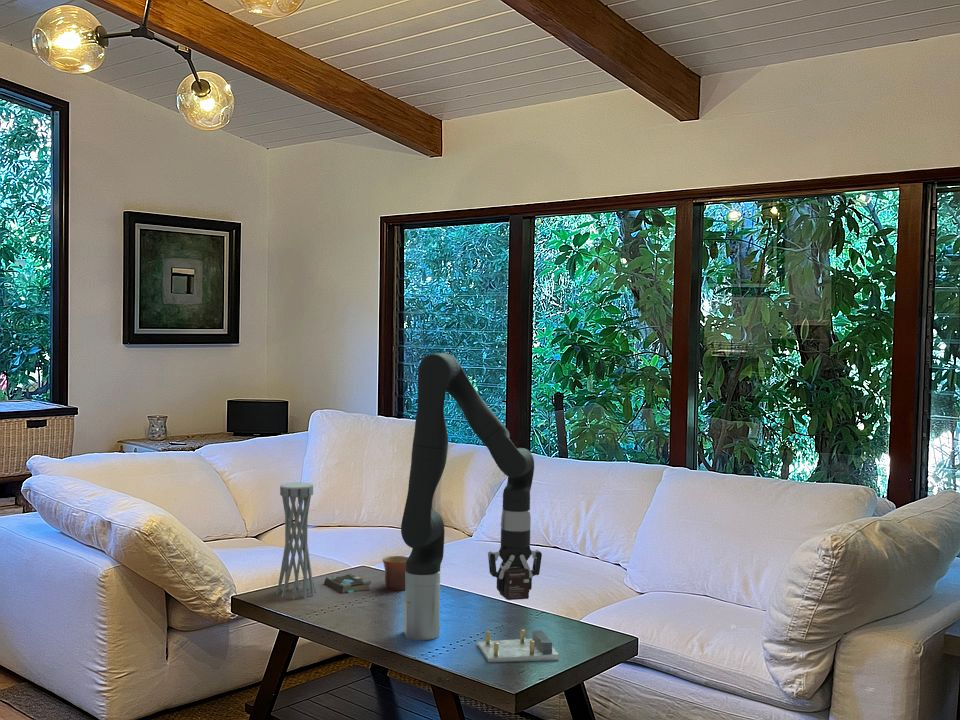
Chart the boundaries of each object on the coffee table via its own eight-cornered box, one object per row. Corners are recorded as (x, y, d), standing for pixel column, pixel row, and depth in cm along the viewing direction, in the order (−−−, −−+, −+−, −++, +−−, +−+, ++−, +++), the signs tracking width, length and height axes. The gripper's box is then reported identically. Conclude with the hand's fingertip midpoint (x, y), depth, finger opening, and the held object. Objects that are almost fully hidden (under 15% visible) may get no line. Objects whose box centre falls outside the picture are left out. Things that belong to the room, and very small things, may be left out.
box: (506, 600, 243) (507, 571, 242) (498, 594, 248) (499, 566, 248) (529, 599, 244) (530, 570, 244) (521, 592, 250) (521, 564, 250)
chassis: (488, 664, 237) (488, 646, 237) (477, 647, 250) (477, 630, 249) (558, 660, 241) (558, 642, 240) (544, 643, 253) (544, 626, 253)
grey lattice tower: (306, 608, 282) (307, 489, 281) (264, 604, 286) (265, 487, 285) (325, 596, 295) (326, 482, 294) (286, 592, 299) (286, 480, 298)
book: (385, 598, 296) (385, 581, 295) (349, 604, 289) (349, 587, 288) (354, 583, 312) (355, 568, 312) (320, 589, 305) (320, 573, 305)
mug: (411, 594, 298) (412, 562, 298) (383, 595, 297) (383, 562, 296) (407, 584, 310) (407, 553, 310) (380, 585, 308) (380, 553, 308)
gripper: (492, 530, 240) (490, 597, 241) (547, 529, 244) (545, 594, 244) (484, 524, 248) (483, 589, 248) (538, 523, 251) (536, 587, 252)
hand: (514, 591), depth 246 cm, fingers closed on box, 6 cm apart
